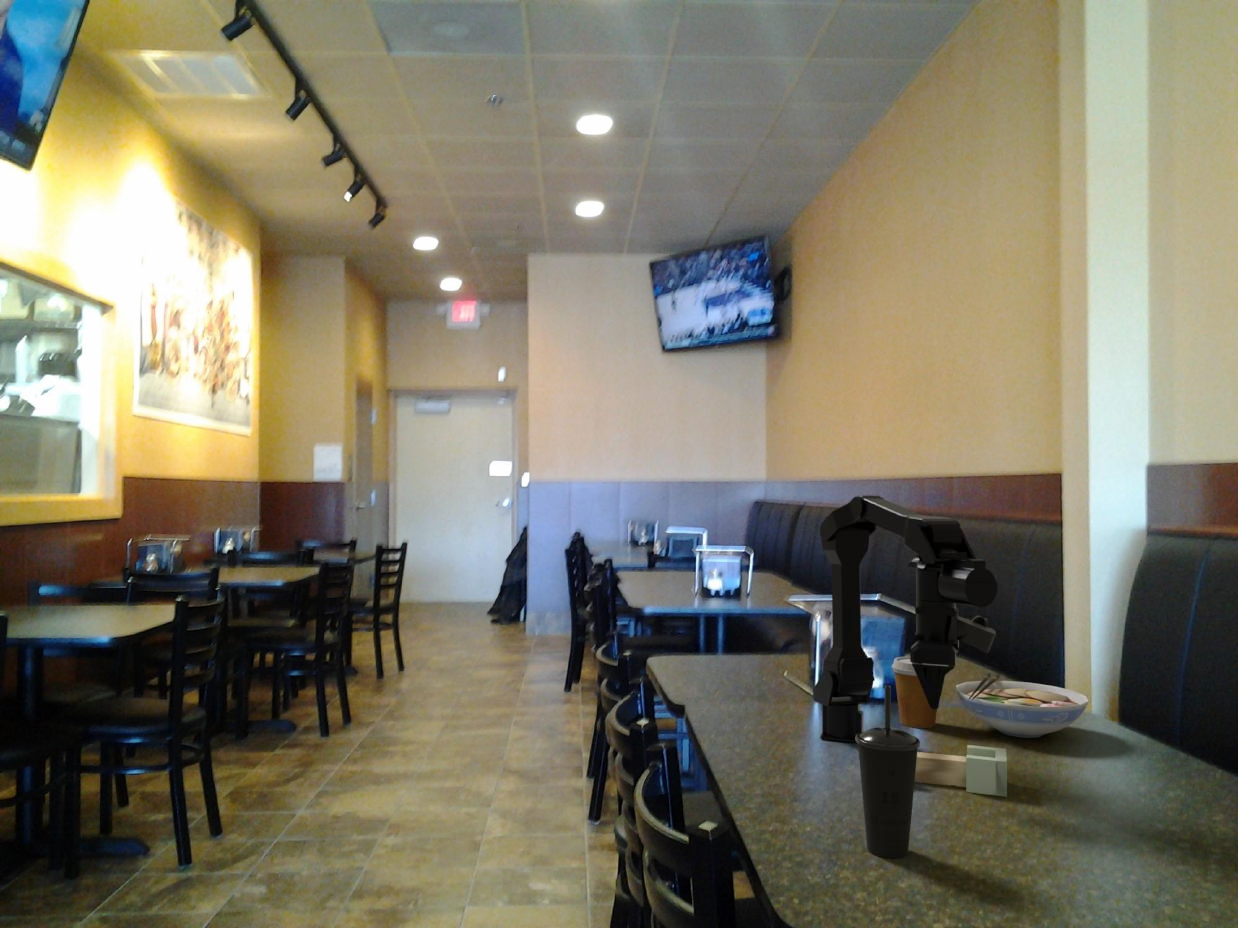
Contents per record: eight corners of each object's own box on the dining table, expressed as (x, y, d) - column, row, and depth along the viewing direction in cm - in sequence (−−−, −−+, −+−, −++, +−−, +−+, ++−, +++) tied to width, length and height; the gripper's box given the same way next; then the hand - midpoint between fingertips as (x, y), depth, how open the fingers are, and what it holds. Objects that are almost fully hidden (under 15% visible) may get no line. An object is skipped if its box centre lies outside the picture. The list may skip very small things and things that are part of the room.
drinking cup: (846, 839, 118) (847, 680, 119) (905, 838, 119) (905, 679, 119) (867, 863, 110) (868, 693, 111) (930, 862, 111) (930, 692, 112)
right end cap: (1005, 781, 143) (1005, 748, 143) (1006, 796, 136) (1006, 761, 136) (967, 777, 145) (967, 744, 145) (966, 791, 138) (966, 757, 138)
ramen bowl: (1081, 758, 156) (1081, 709, 156) (940, 738, 168) (940, 692, 168) (1096, 727, 177) (1096, 684, 177) (969, 711, 189) (969, 670, 189)
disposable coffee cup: (947, 731, 173) (947, 666, 173) (893, 728, 174) (893, 663, 175) (940, 719, 182) (940, 657, 182) (889, 716, 184) (889, 655, 184)
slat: (884, 780, 144) (884, 753, 144) (884, 774, 147) (885, 748, 147) (988, 790, 139) (988, 763, 139) (987, 785, 142) (987, 758, 142)
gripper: (992, 609, 132) (992, 721, 132) (992, 596, 149) (992, 695, 149) (910, 605, 136) (909, 713, 136) (918, 593, 154) (918, 689, 153)
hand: (935, 702), depth 143 cm, fingers open, 9 cm apart
